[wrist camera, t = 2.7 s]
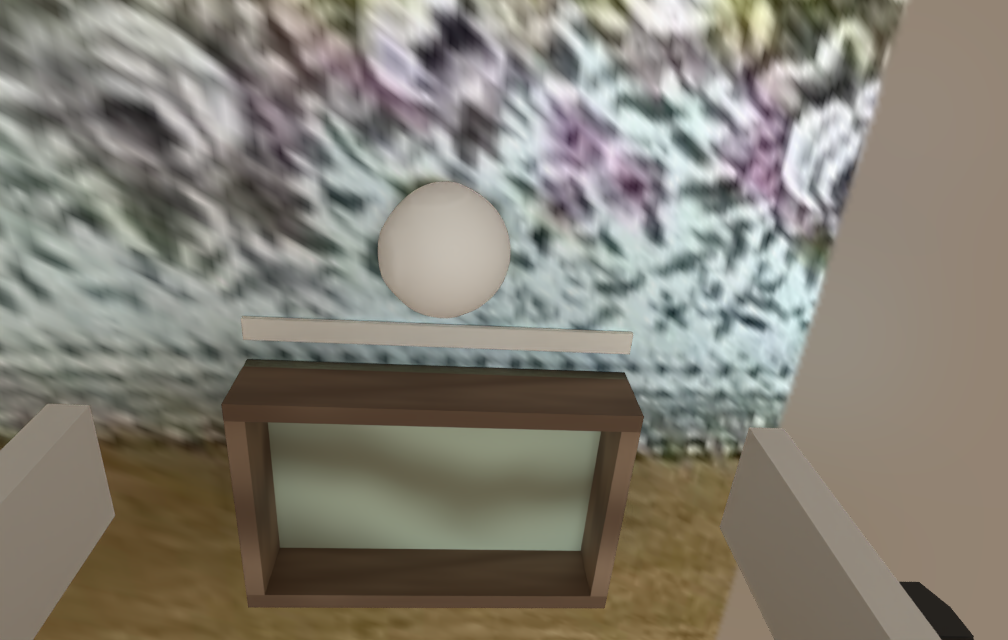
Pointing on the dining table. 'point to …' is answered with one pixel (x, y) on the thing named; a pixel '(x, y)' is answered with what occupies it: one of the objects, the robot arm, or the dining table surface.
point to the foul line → (435, 335)
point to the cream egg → (444, 250)
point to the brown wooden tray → (428, 484)
